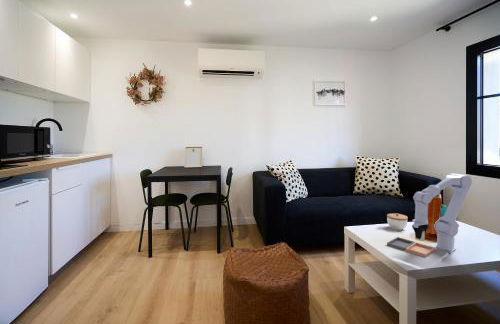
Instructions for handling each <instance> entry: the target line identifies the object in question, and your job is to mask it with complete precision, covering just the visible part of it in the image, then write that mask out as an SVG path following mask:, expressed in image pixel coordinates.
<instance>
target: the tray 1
mask: <svg viewBox="0 0 500 324" xmlns="http://www.w3.org/2000/svg"><path fill="white" fill-rule="evenodd" d="M415 242H416V241H413V240H409V239H406V238H403V237H399V236H396V237H394V238H393V239H391V240H389V241H387V243H386V246H388V247H392V248H395V249H398V250H400V251H404V252H406V248H407V247H409V246H410V245H412V244H414V243H415Z"/></svg>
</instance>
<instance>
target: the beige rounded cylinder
mask: <svg viewBox="0 0 500 324" xmlns="http://www.w3.org/2000/svg"><path fill="white" fill-rule="evenodd" d="M425 236H426V233H425V231H424V230H423V232H422V236H421V239H417V238H416V236H415V235H414V240H415V241H421V242H424V241H425Z"/></svg>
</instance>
